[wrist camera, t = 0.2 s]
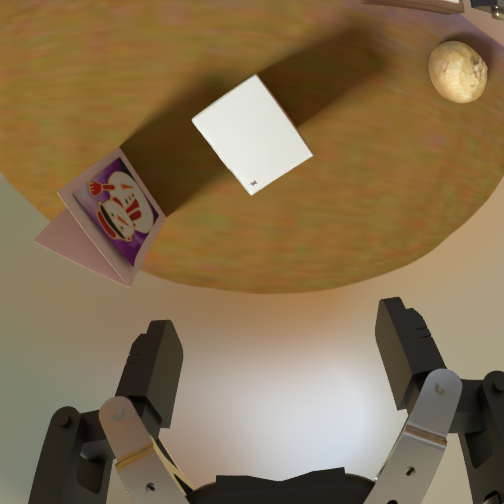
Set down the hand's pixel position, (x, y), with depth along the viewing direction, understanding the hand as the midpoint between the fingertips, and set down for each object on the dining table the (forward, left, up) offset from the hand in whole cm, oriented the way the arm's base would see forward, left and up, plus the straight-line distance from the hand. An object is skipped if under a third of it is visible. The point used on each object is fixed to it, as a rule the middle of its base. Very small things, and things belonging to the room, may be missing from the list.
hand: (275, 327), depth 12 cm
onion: (-9, +24, -29) cm, 39 cm away
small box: (-4, 0, -29) cm, 30 cm away
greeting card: (+3, -18, -29) cm, 35 cm away
